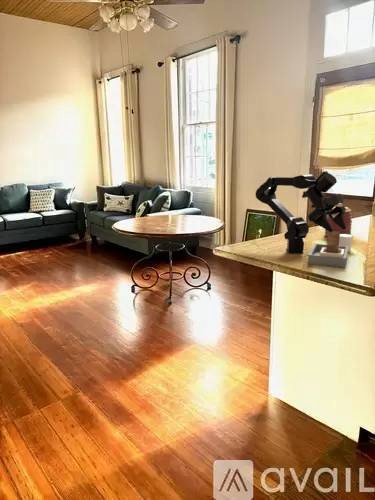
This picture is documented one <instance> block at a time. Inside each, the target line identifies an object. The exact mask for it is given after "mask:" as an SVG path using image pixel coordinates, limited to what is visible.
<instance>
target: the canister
mask: <svg viewBox="0 0 375 500" xmlns="http://www.w3.org/2000/svg"><path fill="white" fill-rule="evenodd" d="M336 206H344V205H343V203H339V204H336ZM336 206H335V207H336ZM335 207H334V208H335ZM344 207H345V208H346V211H345V213H344V215H343V218H344V222H345V226H346V229H345V230H343V229H342V228H341V227H339V226H338V225H337V224H336V223H335V222H333V221H332V218H330V217H329V215H327V220H328V222H329V224H330V226H331V227H332V230H336V231H340V234H350V235H352V225H353V224H352V222H353V220H352V217H353V215H354V214H353V213H351V212H352V209H351V208H349V207H348V206H344ZM334 208H332V210H333V209H334ZM324 236H325V237H327V236H328V230H326V229H324Z"/></svg>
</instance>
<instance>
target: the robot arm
mask: <svg viewBox="0 0 375 500" xmlns="http://www.w3.org/2000/svg"><path fill="white" fill-rule="evenodd" d="M336 183H338V181H337V178H336V176H334V175H332V174H331V173H330V172H328V171H327V170H323V171H322V172H321V173H320V175H319V176H318V177H315V176H314V174H300V175H296V176H294V177H293V176H292V177H291V176H270V177H268V178H267V180H265V182H263V183H262V184H260V186H259V187H258V188H257V189H256V191H255V198H256V199H257V200H258V201H260V202H261V203H263V204H265V205H268V207H270V209H271V210H272V211H273V212H274V213H275V214H276V215H277V216H278V217H279V219H281V221H283V223H284V224H285V225H286V230H287V231H286V232H285V233H284V234H283V236H284V239H285V240H287V242H286V243H287V244H286V245H287V246H286V248H285V251H286V252H287V253H288V254H304V250H305V249H304V248H305V242H304V239H306V238H307V235H308V234H309V231H310V229H309V228H310V226H309V225H308V221H309V223H313V224H315V225H318V226H319V227H321V228H323V229H324V230H325V229H326V230H328V231H329V232H332V231H333V230H332V227H331V226H330V224H329V222H328V220H327V215H329V217H330V218H332V221H333V222H335V223H336V224H337V225H338V226H339V227H341V228H342V229H343V230H345V229H346V226H345V222H344V218H343V215H344V213H345V211H346V208H345V207H346V206H344V205H343V206H337V205H338V204H339V203H342V204H343V203H344V200H345V196H344V195H343V194H341V193H337V194H335V195H332V196H325V194H324V193H328V191H330V189H331V188H332V187H334V186H335V185H336ZM278 186H287V187H294V188H296V189H298V190H299V189H300V190H304V191H302V195H301V198H302V199H303V198H304V199H306V198H308V200H309V201H310V203H311V204H312V205H311V206H310V207H311V208H312V209H313V210H312V211H311V212H310V213H309V214H308V215H307V219H308V221H306V220H304V218H303V217H302V216H298V217H296V216H294V215H293V214H292V212H290V210H288V209H287V208H286V206H284V205H283V203H281V201H279V199H278V198H277V195H276V191H277V188H278ZM305 189H306V190H305ZM334 207H335V208H334ZM332 208H334V209H333V210H332Z"/></svg>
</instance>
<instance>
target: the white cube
mask: <svg viewBox="0 0 375 500" xmlns="http://www.w3.org/2000/svg"><path fill="white" fill-rule="evenodd" d="M353 240H354V235H353V234H351V235H350V234H340V239H339V246H348V252H351V251H352V245H353Z"/></svg>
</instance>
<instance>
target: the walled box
mask: <svg viewBox="0 0 375 500" xmlns="http://www.w3.org/2000/svg"><path fill="white" fill-rule="evenodd" d="M326 249H327V243H325V244H324V243H313V246H312V248H311V249H310V251H309V253H308V254H307V255H308V257H307V265H310V266H311V265H312V266H321V267H330V268H338V269H339V268H341V269H345V268H346V265H347V260H348V256H349V255H348V254H349V251H348V246H339V251H338V253H329V252H326Z"/></svg>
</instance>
